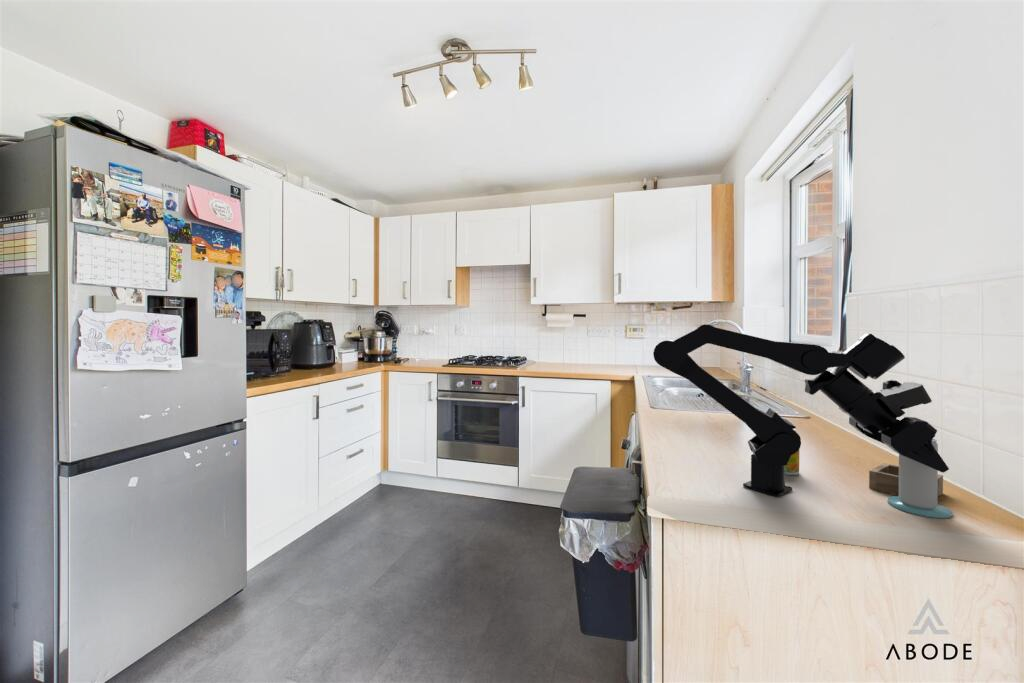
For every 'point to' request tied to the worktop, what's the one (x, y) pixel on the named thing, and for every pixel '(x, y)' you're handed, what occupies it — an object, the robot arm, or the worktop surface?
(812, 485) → the worktop surface
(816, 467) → the worktop surface
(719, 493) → the worktop surface
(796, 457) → the supplement bottle
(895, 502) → the teal disc
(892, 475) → the square wooden frame
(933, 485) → the beverage can
